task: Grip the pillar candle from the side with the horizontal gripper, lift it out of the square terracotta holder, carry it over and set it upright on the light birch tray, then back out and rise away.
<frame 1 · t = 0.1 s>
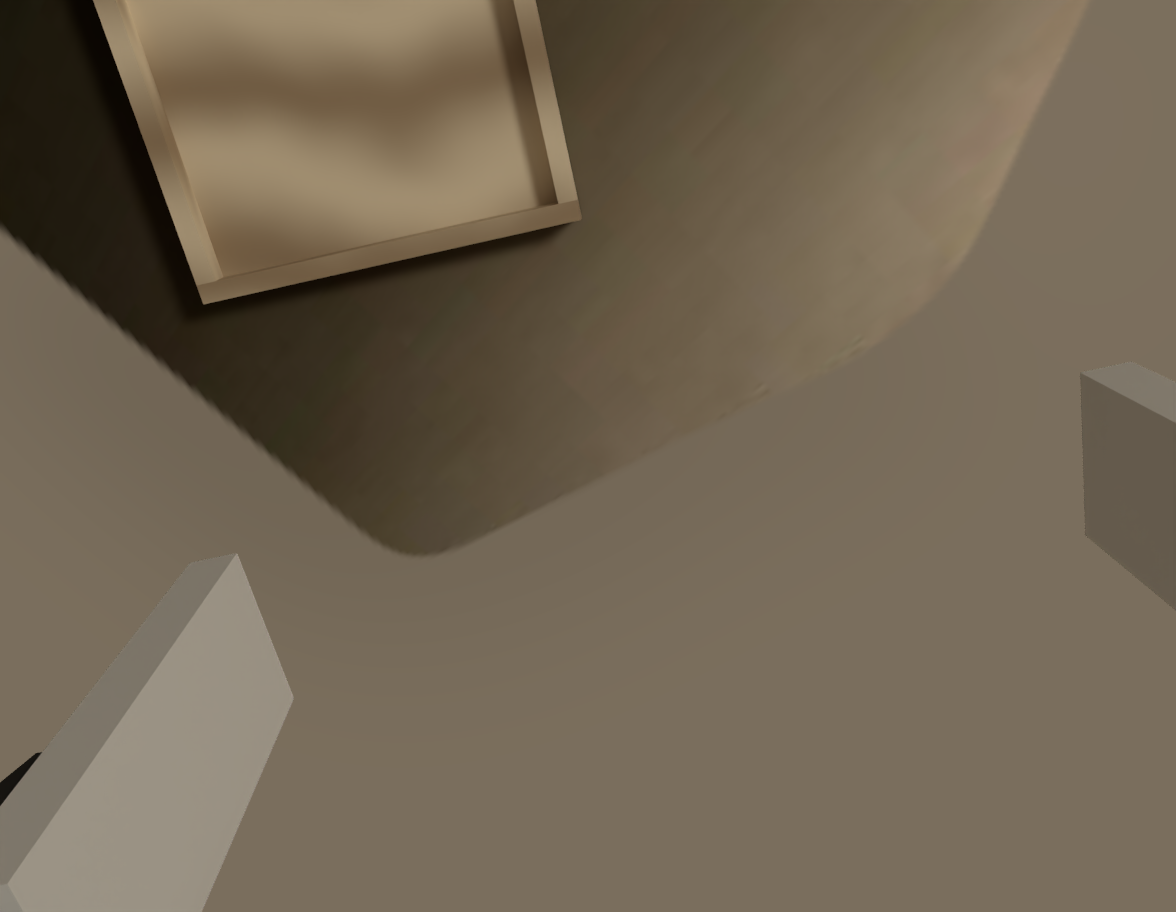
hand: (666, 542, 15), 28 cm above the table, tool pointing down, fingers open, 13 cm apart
tray: (348, 83, 38), on the table
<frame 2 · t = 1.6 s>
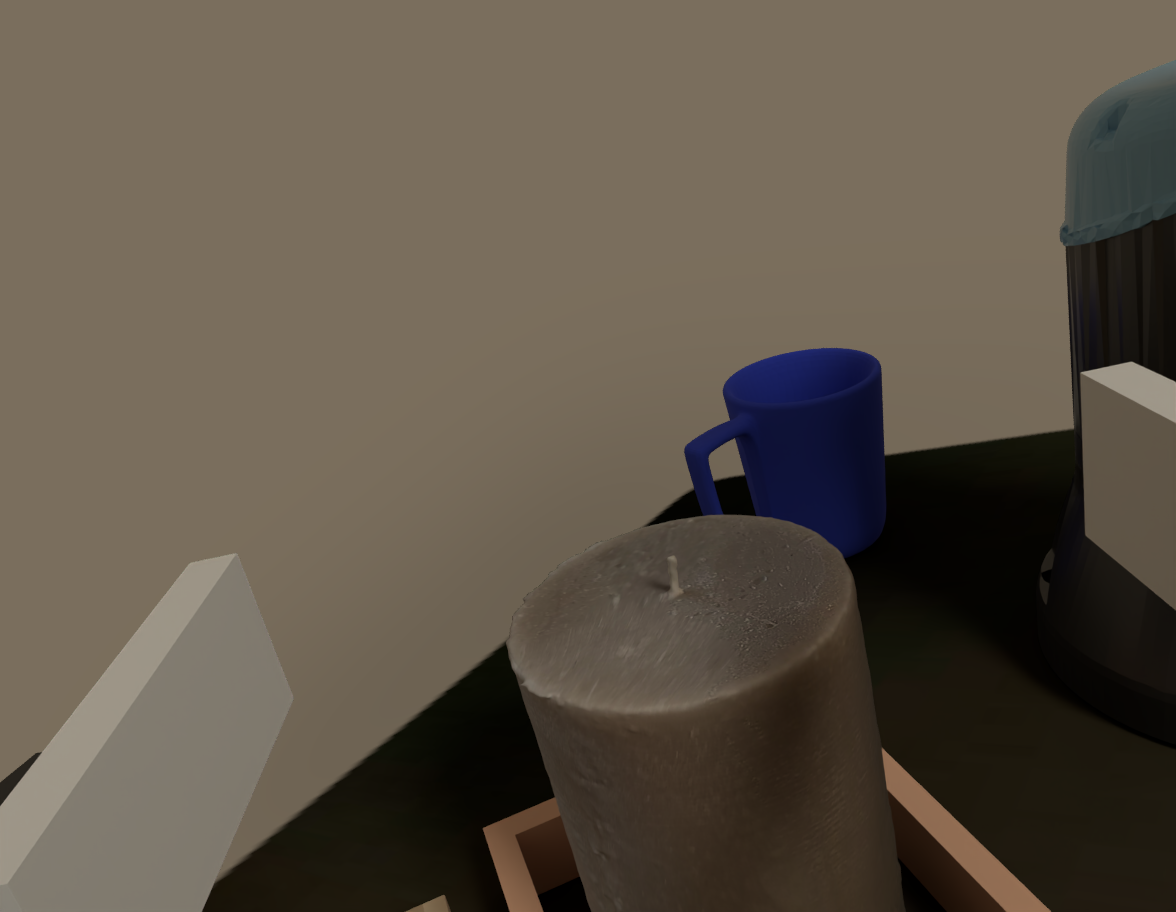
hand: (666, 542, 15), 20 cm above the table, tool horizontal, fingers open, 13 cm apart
mug: (801, 557, 53), on the table
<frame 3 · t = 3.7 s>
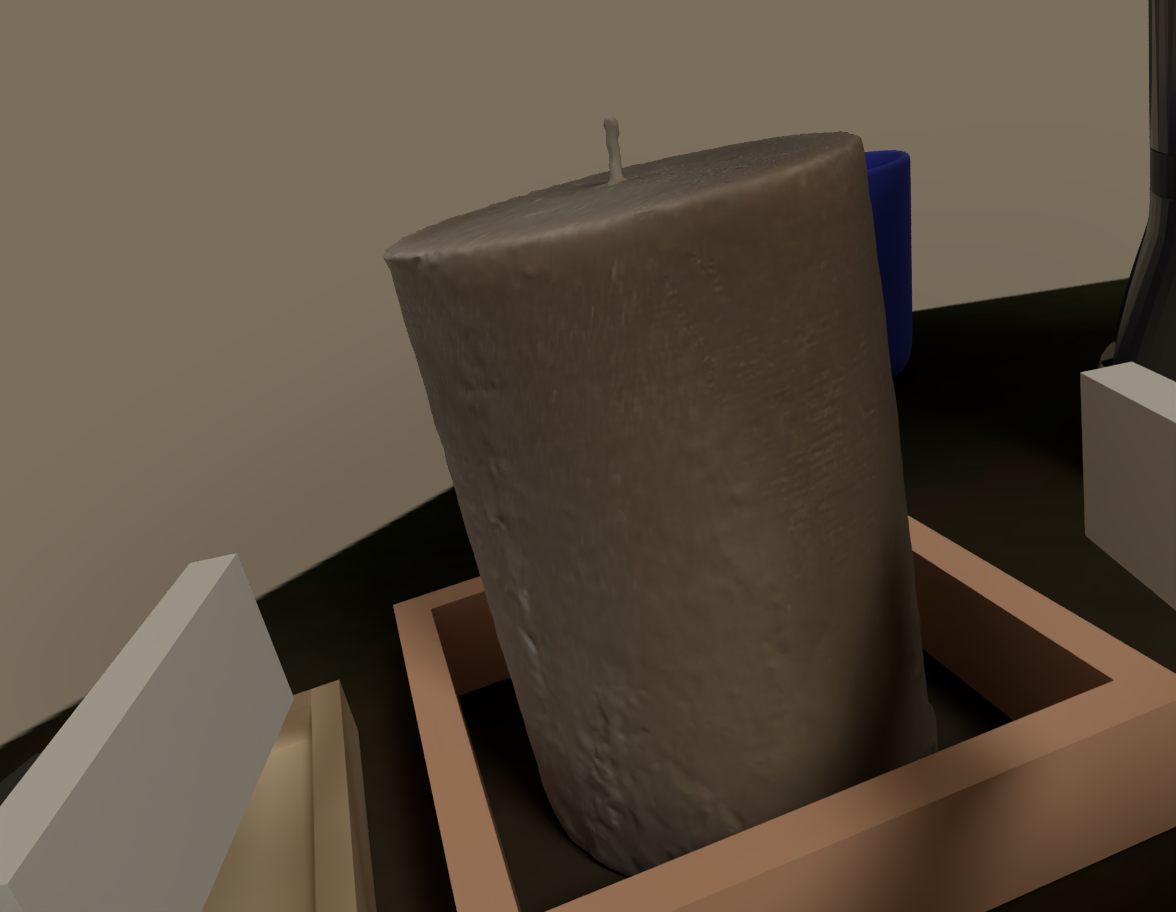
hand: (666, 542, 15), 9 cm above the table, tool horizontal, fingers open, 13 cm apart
pillar candle: (728, 747, 24), resting in holder
mug: (812, 395, 46), on the table
holder: (727, 739, 24), on the table
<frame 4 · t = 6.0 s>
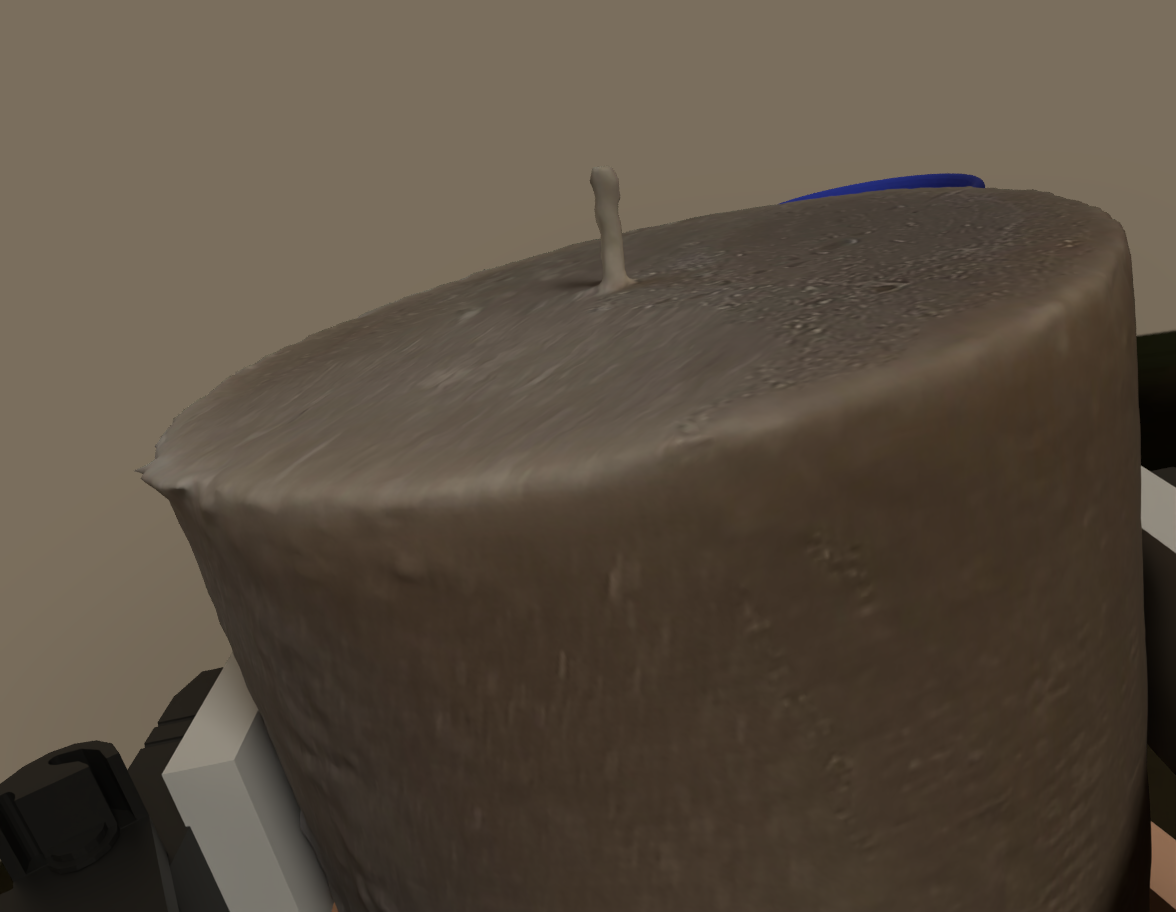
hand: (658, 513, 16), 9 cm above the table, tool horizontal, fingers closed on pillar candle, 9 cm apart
mug: (855, 475, 37), on the table
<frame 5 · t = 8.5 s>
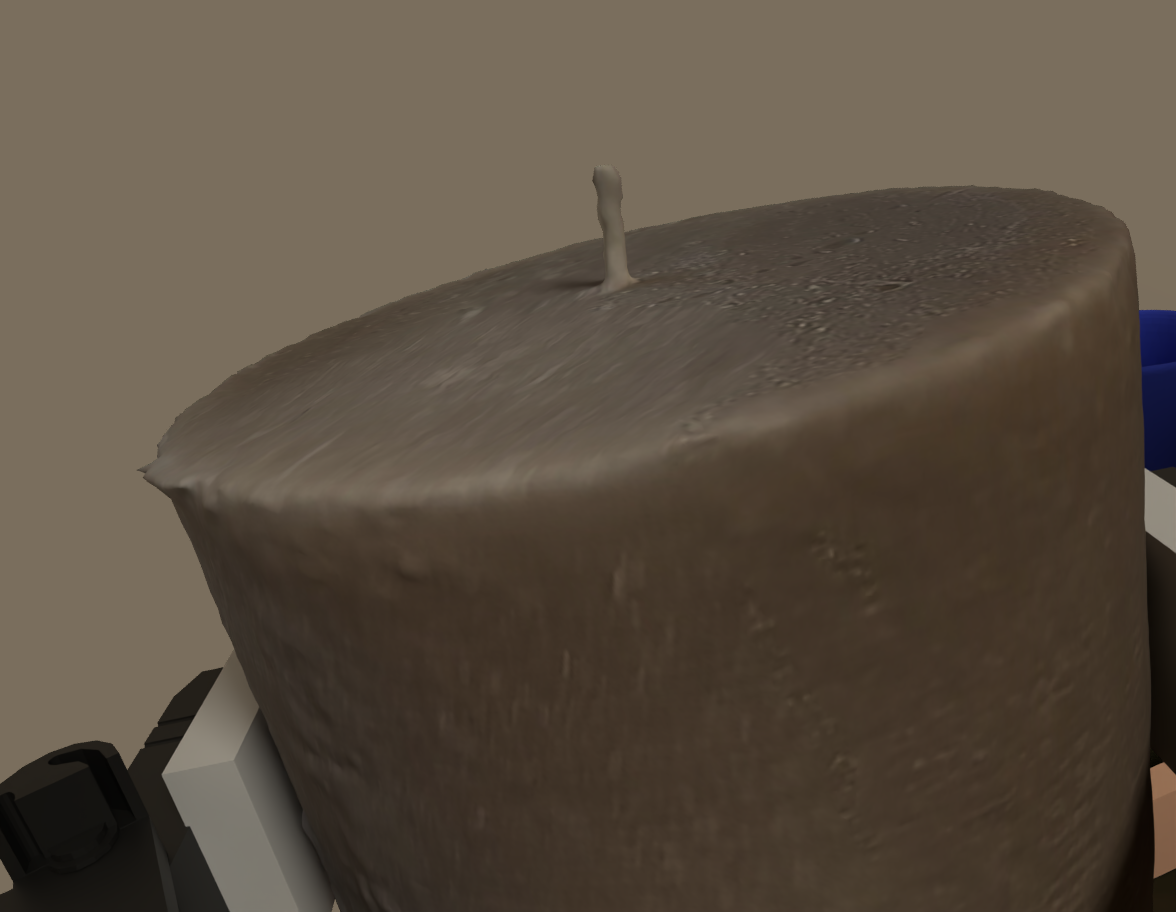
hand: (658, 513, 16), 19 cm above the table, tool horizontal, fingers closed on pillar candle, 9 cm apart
mug: (1103, 558, 44), on the table
when the fingers open (11 cm above the table, at t = 11.0 s): pillar candle drops 1 cm, resting on tray.
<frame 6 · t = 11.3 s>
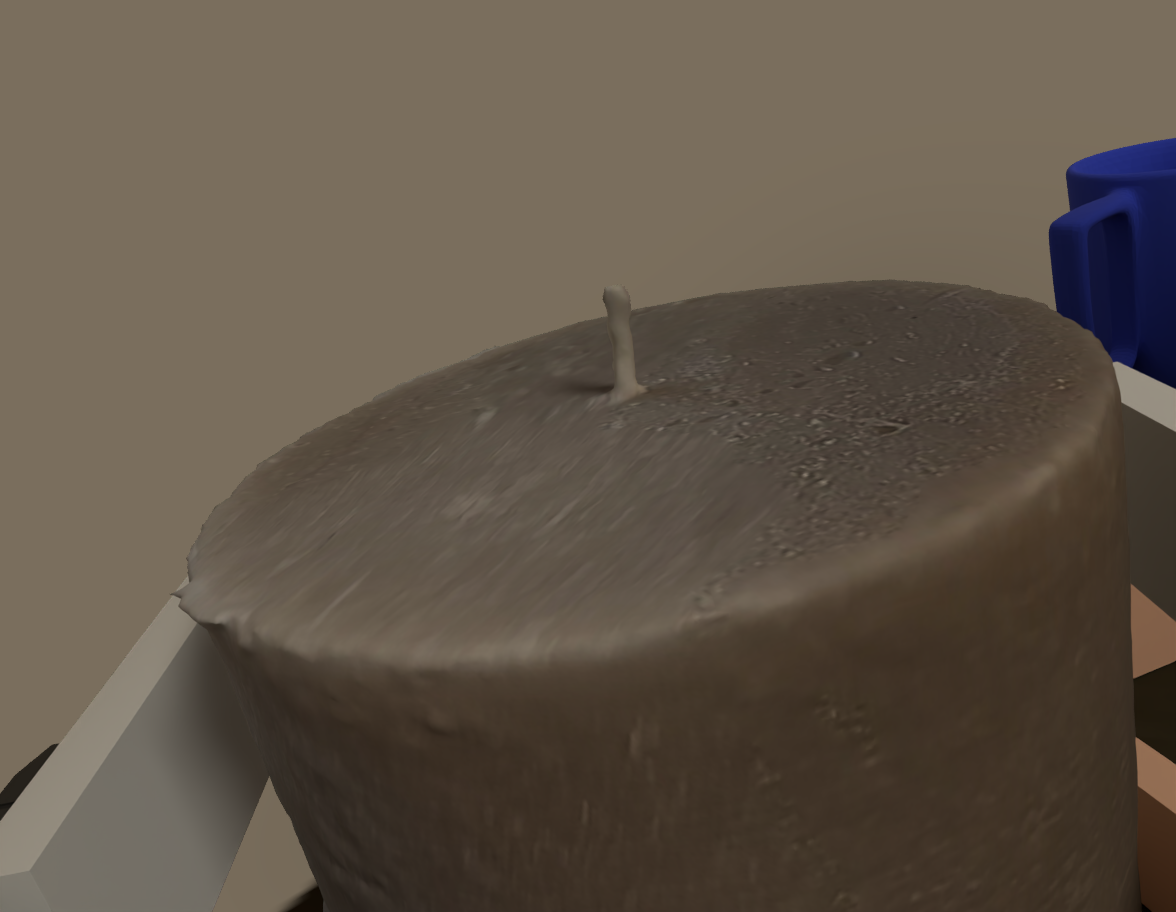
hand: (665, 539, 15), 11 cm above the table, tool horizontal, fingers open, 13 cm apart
mug: (1150, 394, 43), on the table
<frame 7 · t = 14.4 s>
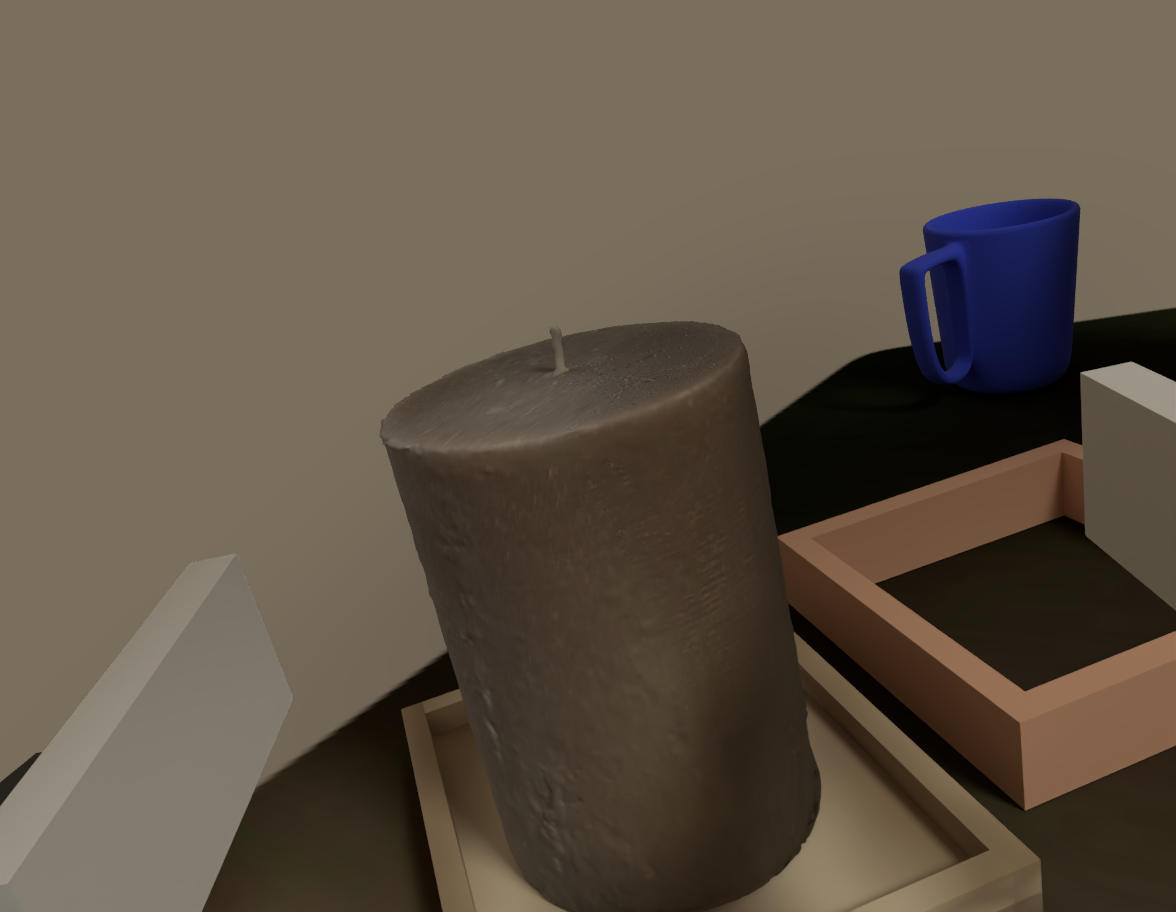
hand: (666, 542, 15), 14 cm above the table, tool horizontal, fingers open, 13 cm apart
tray: (665, 815, 29), on the table
pillar candle: (657, 802, 29), point 1 cm above the table, touching tray
mug: (987, 393, 57), on the table
holder: (1050, 620, 35), on the table
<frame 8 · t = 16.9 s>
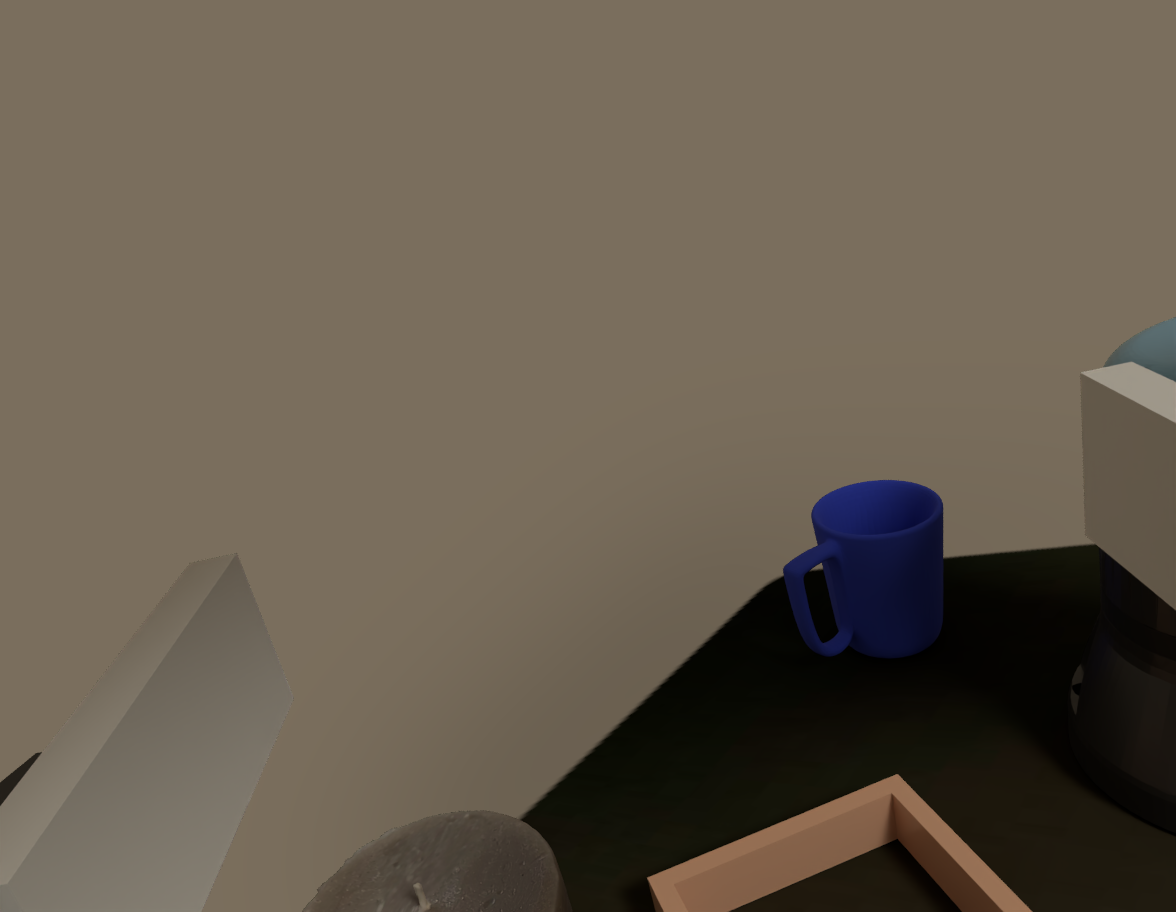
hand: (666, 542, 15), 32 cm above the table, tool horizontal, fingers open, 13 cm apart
mug: (871, 651, 64), on the table
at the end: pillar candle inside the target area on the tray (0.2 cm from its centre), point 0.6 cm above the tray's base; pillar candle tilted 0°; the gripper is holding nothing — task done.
